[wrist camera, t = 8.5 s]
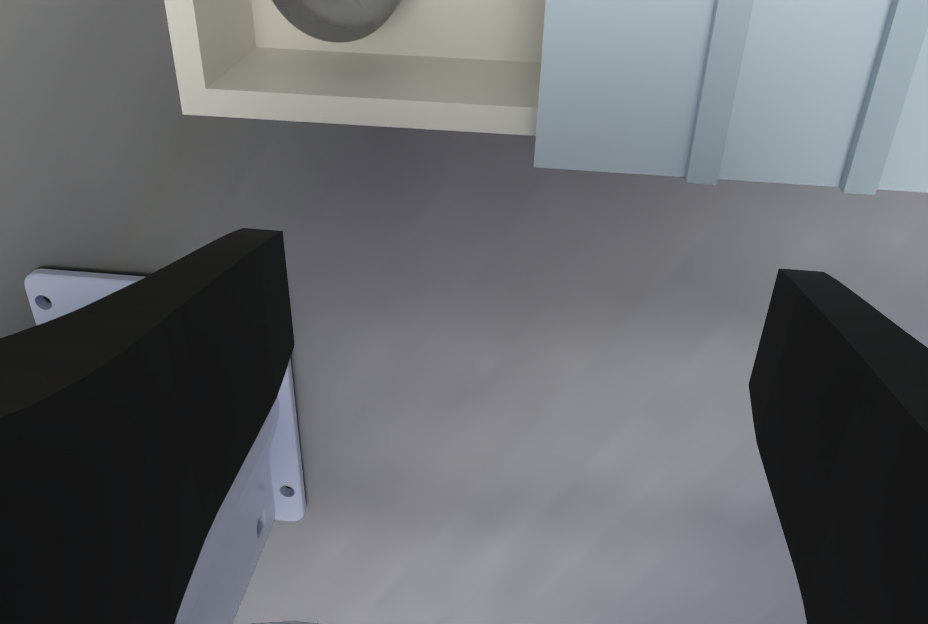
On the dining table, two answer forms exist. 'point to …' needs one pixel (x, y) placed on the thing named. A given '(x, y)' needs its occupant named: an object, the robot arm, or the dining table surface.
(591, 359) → the dining table surface
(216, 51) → the tub
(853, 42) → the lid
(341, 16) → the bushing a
